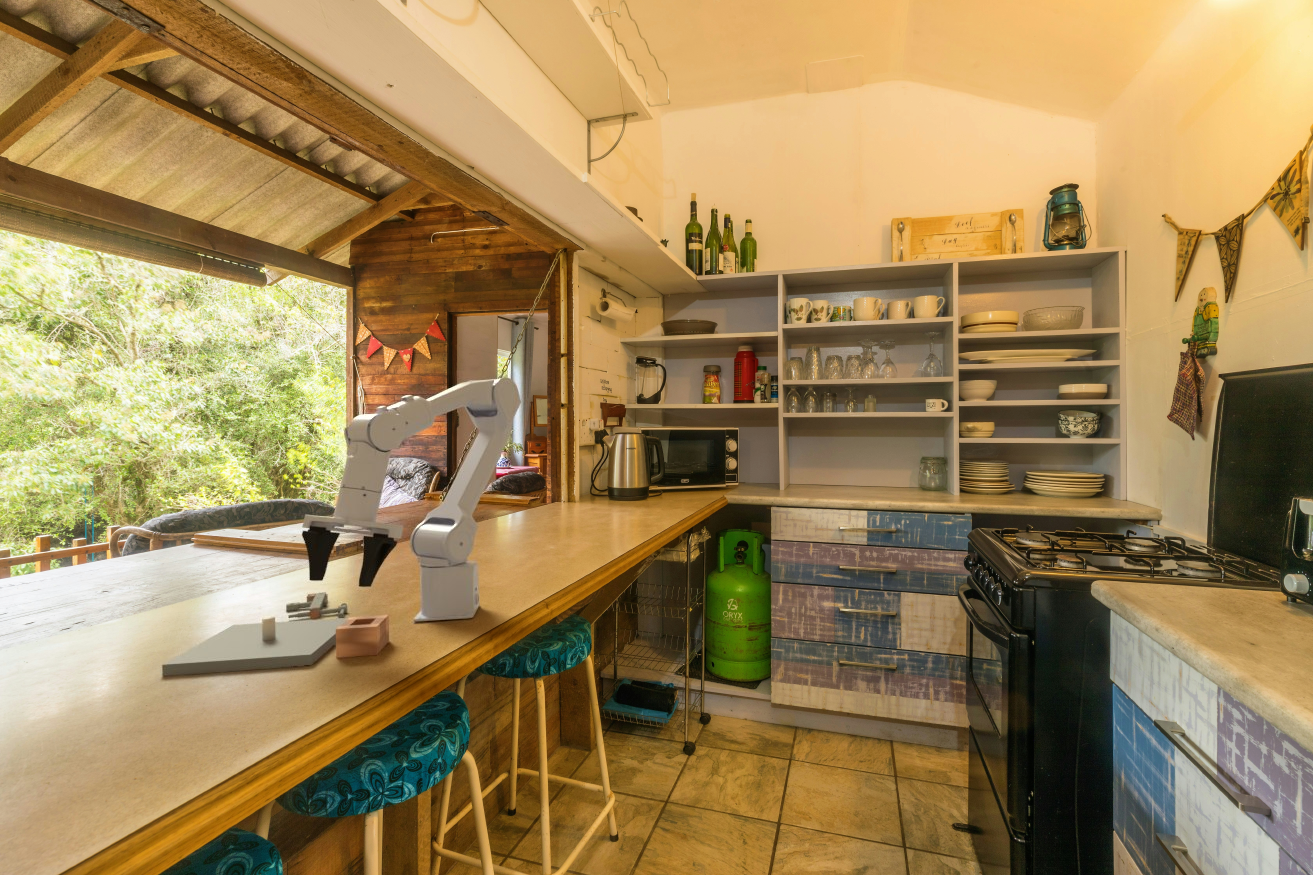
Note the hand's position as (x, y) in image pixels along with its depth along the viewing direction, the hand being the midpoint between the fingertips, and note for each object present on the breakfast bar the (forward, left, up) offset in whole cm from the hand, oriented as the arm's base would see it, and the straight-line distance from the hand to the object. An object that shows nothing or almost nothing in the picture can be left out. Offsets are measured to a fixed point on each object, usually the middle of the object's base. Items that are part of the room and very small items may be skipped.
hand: (340, 583), depth 83 cm
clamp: (+12, -20, -10) cm, 26 cm away
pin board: (+11, -2, -10) cm, 15 cm away
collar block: (-3, +1, -10) cm, 10 cm away
